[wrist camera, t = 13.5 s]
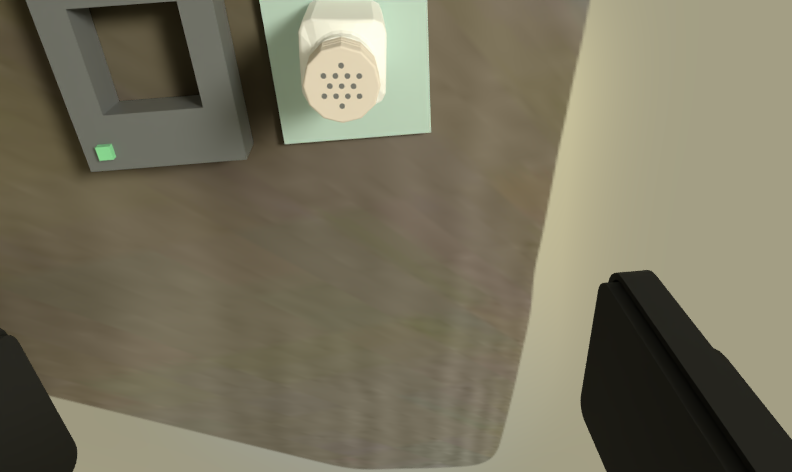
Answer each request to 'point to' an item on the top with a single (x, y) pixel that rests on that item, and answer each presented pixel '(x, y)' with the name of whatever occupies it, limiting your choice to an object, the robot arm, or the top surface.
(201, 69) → the frame
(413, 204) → the top surface
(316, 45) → the salt shaker
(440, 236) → the top surface
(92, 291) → the top surface
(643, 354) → the robot arm
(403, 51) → the mat
